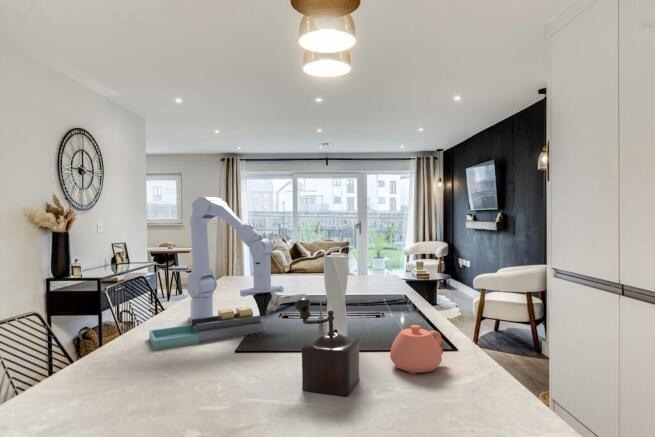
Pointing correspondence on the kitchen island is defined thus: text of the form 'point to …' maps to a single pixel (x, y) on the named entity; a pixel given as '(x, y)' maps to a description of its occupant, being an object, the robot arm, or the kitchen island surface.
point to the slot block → (225, 327)
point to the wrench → (283, 300)
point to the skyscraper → (335, 291)
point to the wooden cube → (243, 312)
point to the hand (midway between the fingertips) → (262, 315)
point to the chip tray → (172, 337)
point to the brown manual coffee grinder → (328, 358)
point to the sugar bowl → (416, 350)
